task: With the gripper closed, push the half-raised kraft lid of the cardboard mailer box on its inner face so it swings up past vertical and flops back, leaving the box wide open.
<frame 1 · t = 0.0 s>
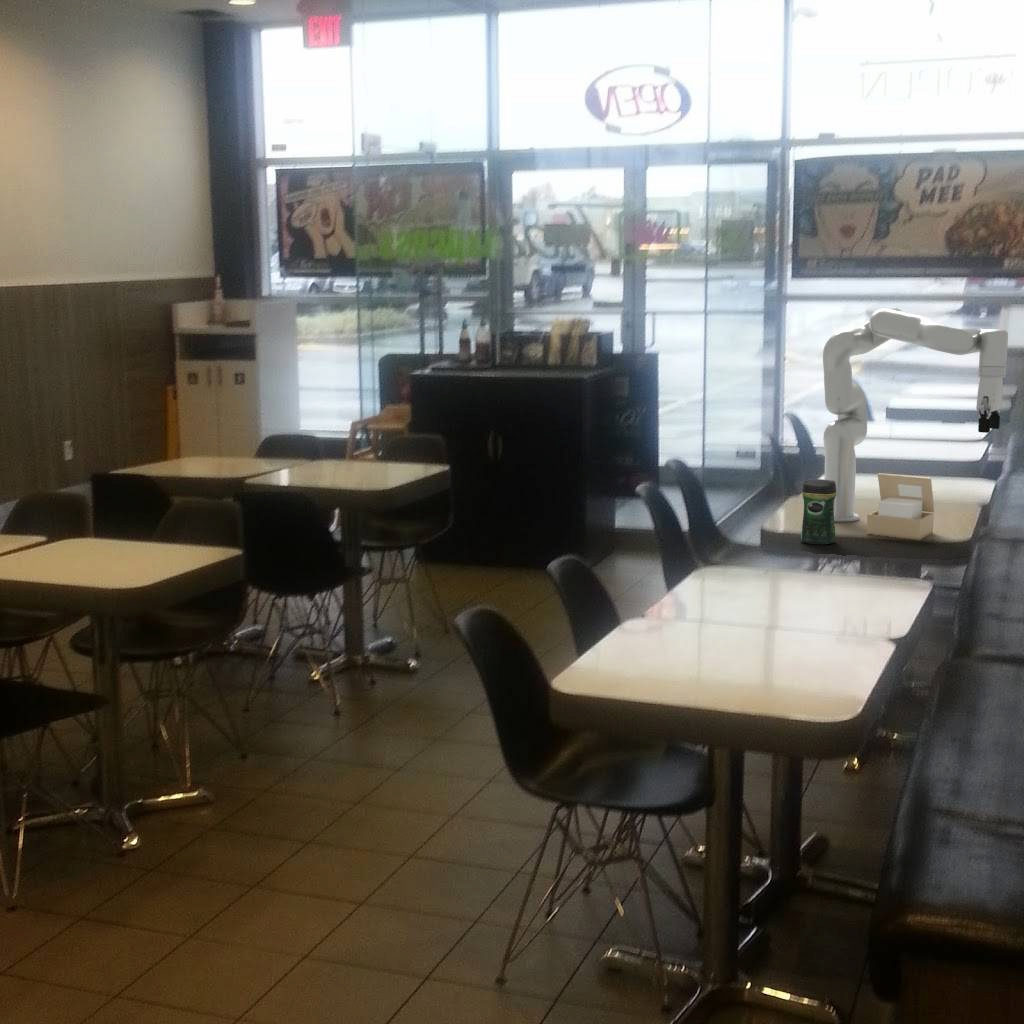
hand: (988, 430, 392), 31 cm above the table, fingers open, 9 cm apart
coffee jar: (817, 542, 390), on the table
lid: (905, 492, 401), point 12 cm above the table, hinge at 66.0°
mailer box: (899, 533, 400), on the table
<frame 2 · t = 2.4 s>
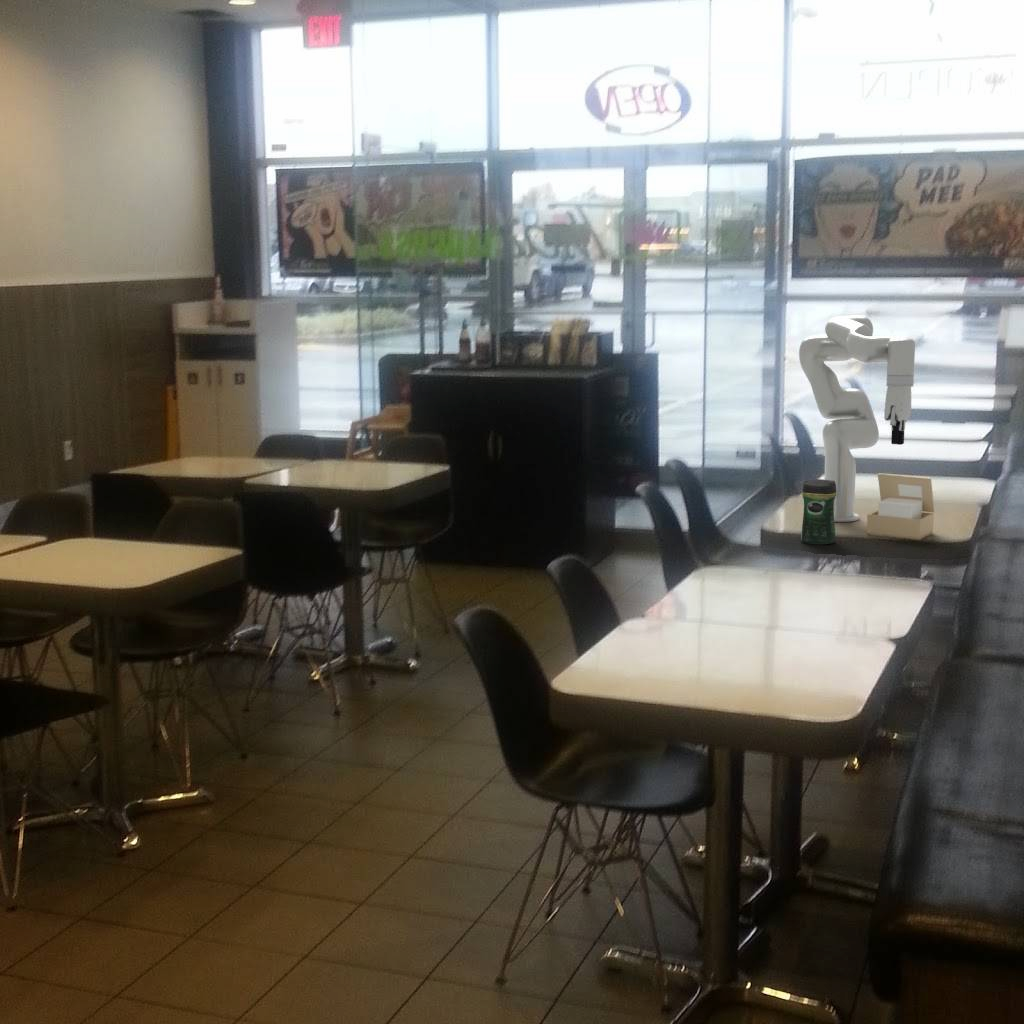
hand: (897, 443, 390), 28 cm above the table, fingers closed
nothing on the table moved.
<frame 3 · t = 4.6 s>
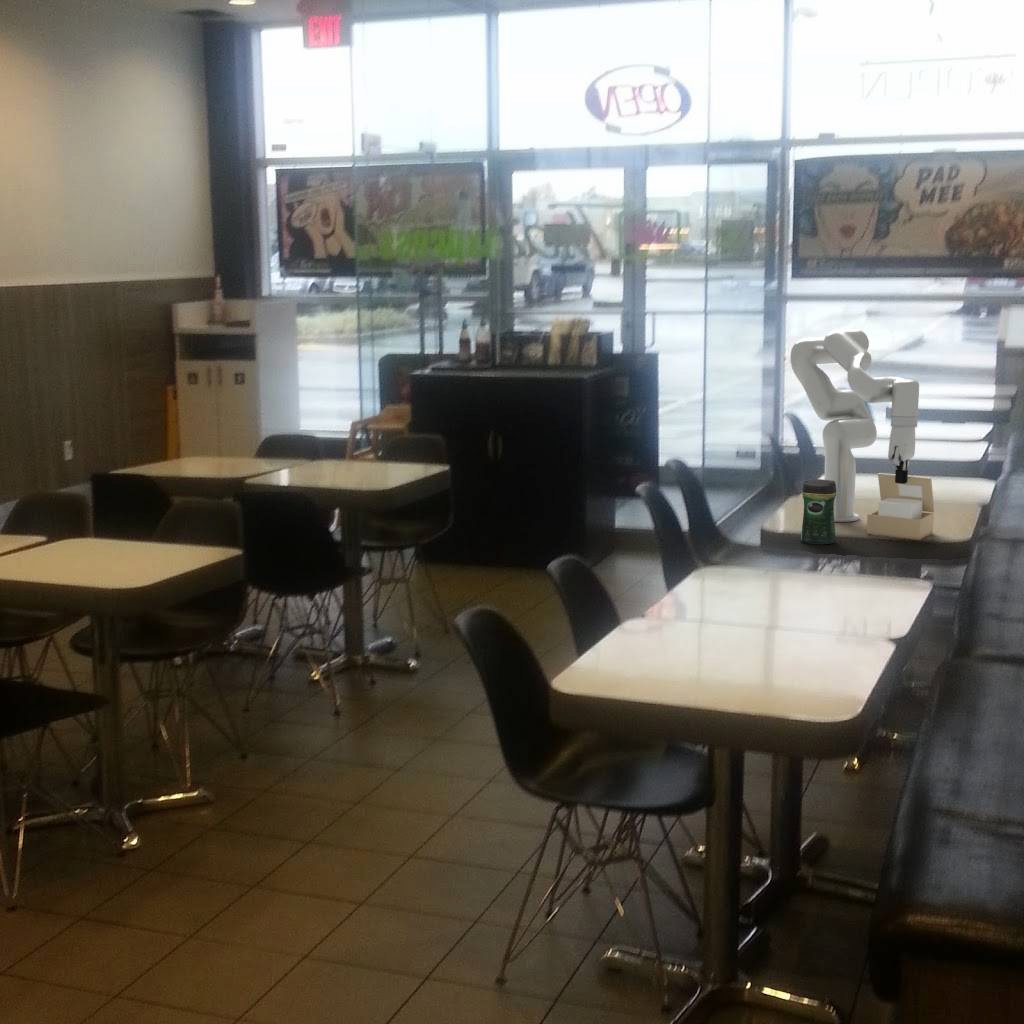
hand: (901, 482, 397), 16 cm above the table, fingers closed
lid: (905, 492, 401), point 12 cm above the table, hinge at 66.8°, touching gripper
everything else where it was.
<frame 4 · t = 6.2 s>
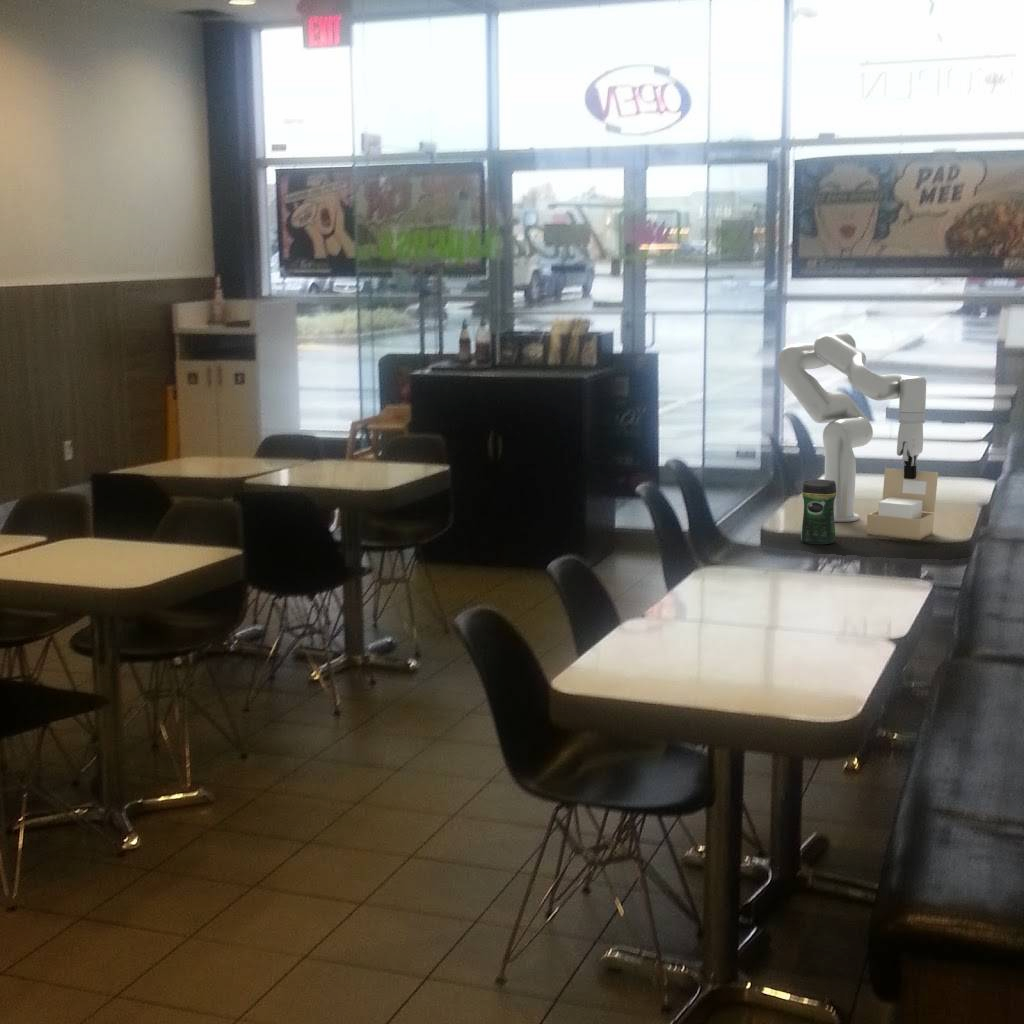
hand: (909, 478, 401), 16 cm above the table, fingers closed
lid: (909, 490, 403), point 12 cm above the table, hinge at 97.2°, touching gripper
everything else where it was.
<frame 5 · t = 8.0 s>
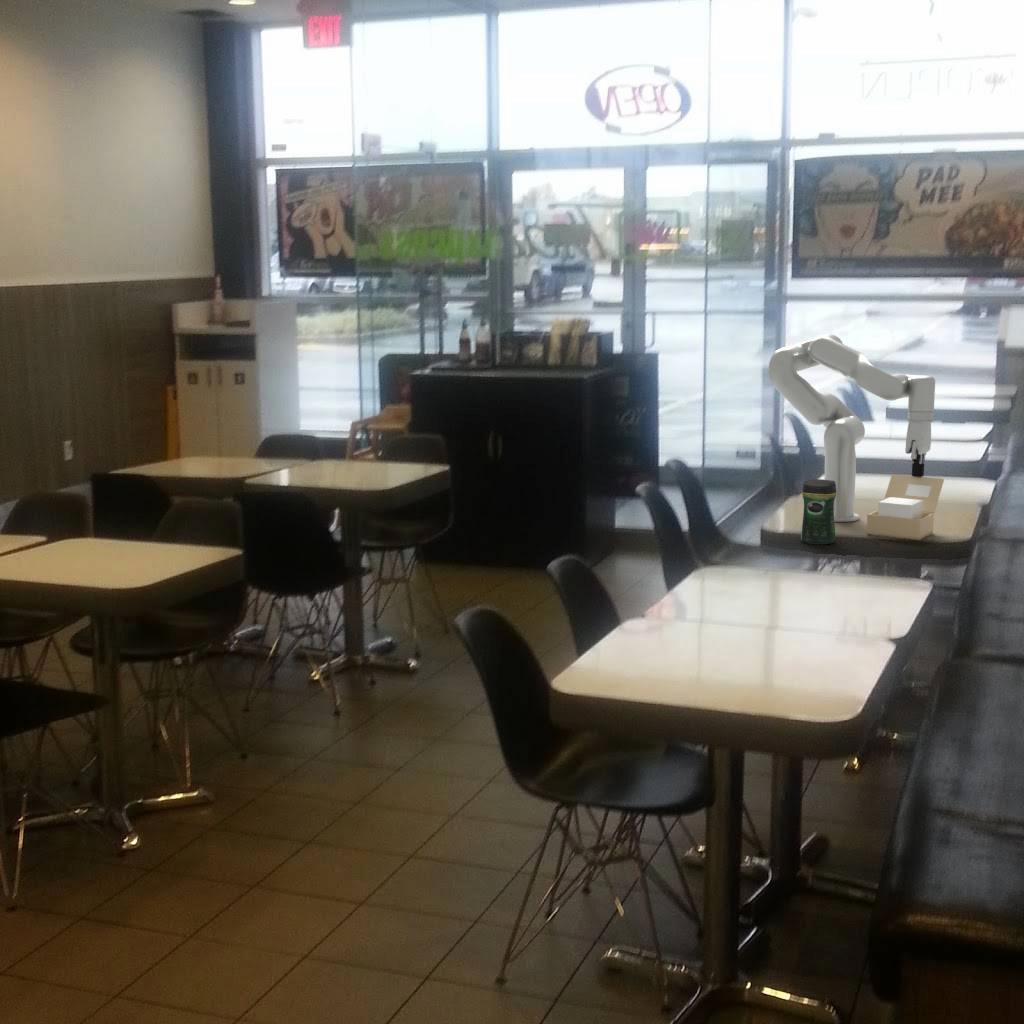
hand: (917, 476, 408), 16 cm above the table, fingers closed
lid: (912, 493, 406), point 11 cm above the table, hinge at 130.9°
everything else where it was.
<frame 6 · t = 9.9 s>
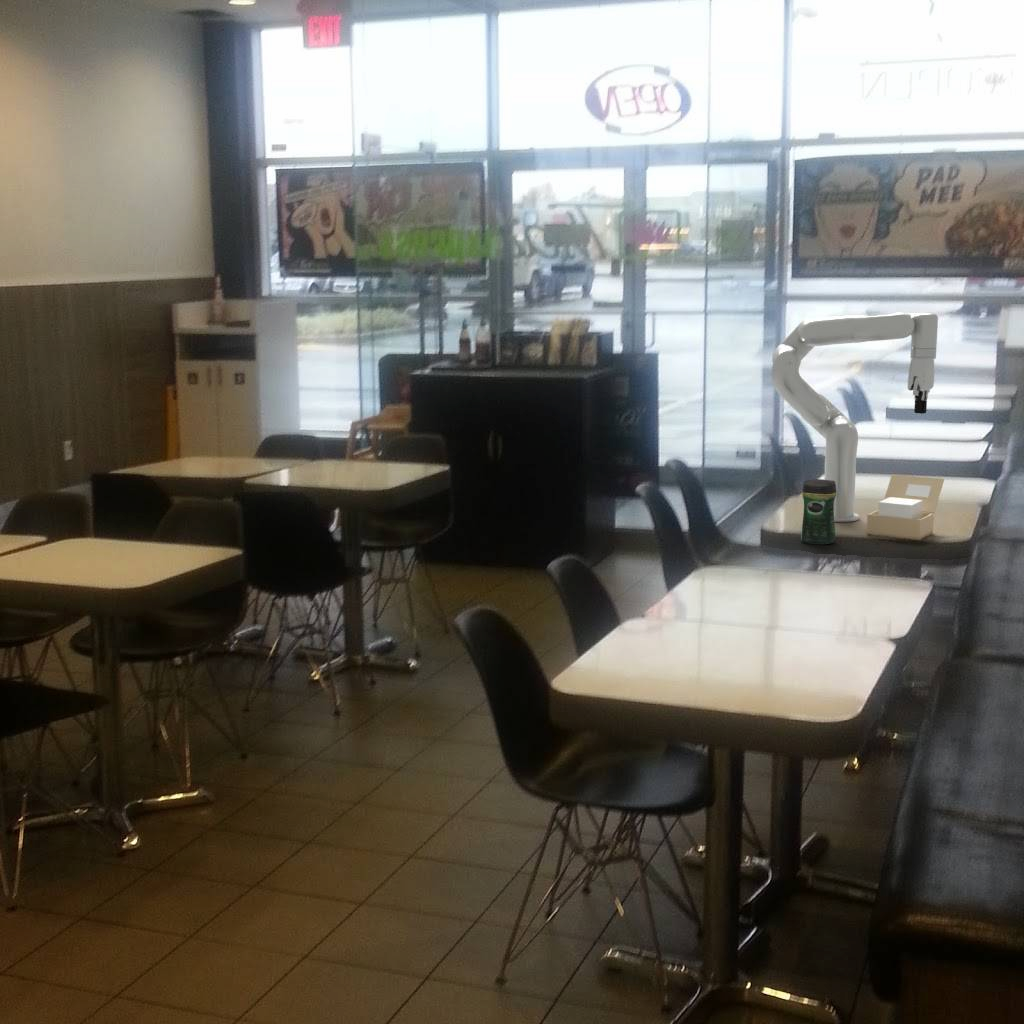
hand: (920, 412, 414), 34 cm above the table, fingers closed
nothing on the table moved.
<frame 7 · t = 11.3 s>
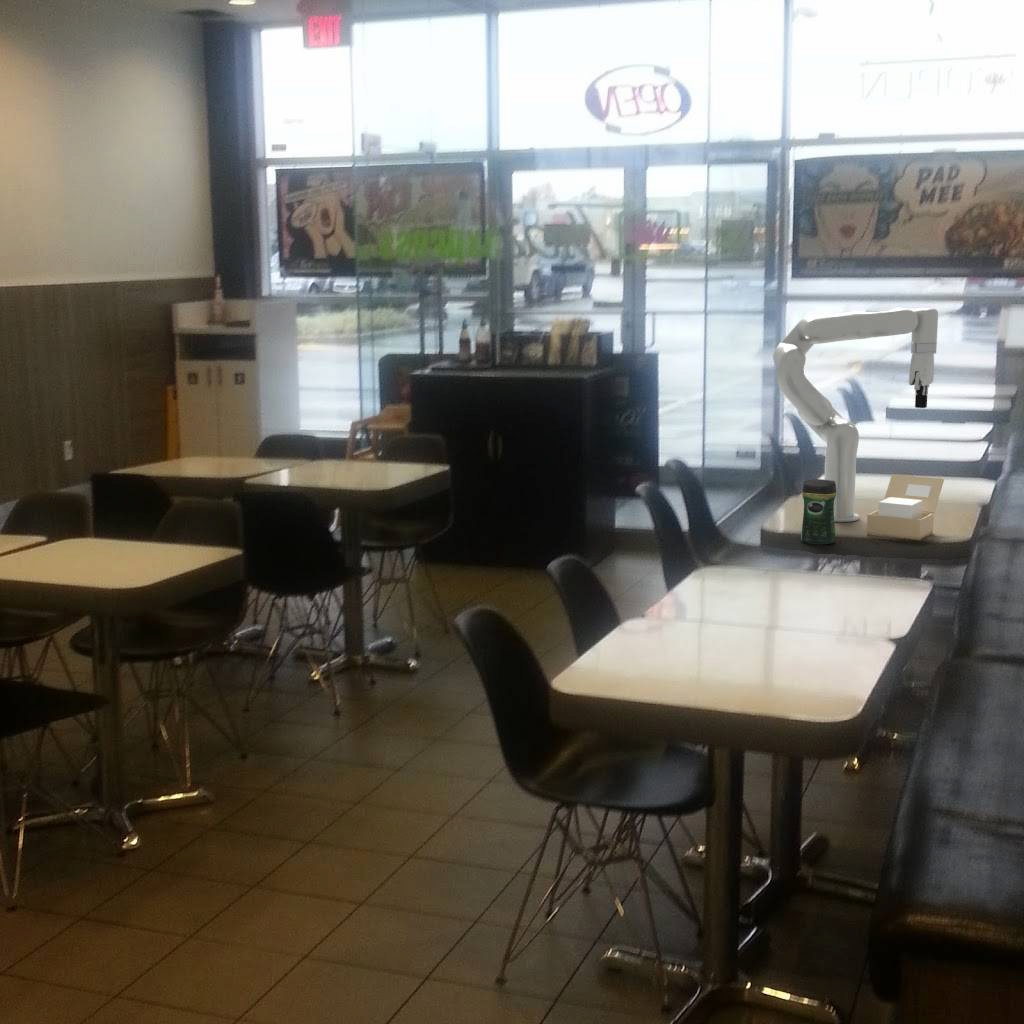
hand: (920, 407, 417), 35 cm above the table, fingers closed
nothing on the table moved.
at the end: lid at +131° (first picture: +66°) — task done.
